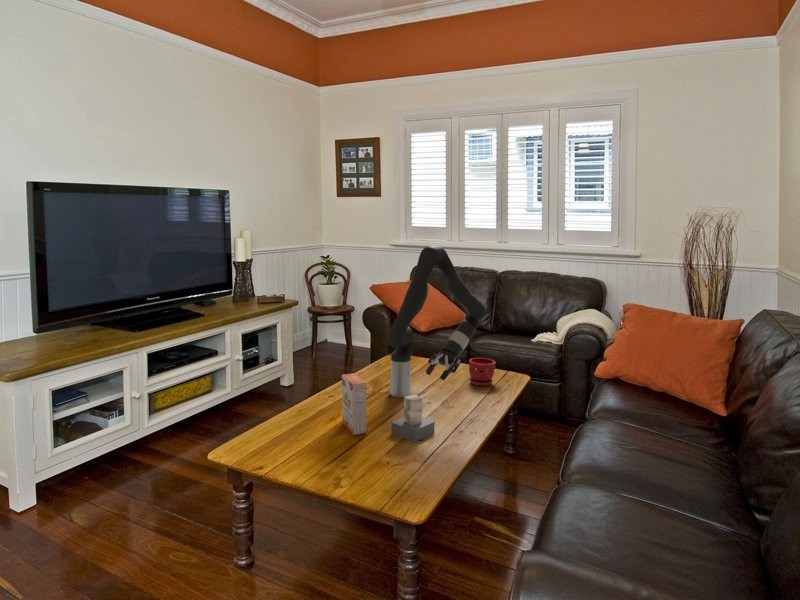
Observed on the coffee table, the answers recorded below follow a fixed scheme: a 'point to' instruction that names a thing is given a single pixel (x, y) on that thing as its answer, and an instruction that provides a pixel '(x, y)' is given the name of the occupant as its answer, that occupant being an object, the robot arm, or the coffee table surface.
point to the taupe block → (412, 410)
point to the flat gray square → (412, 429)
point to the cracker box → (354, 403)
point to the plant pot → (481, 371)
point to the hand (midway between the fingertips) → (434, 376)
